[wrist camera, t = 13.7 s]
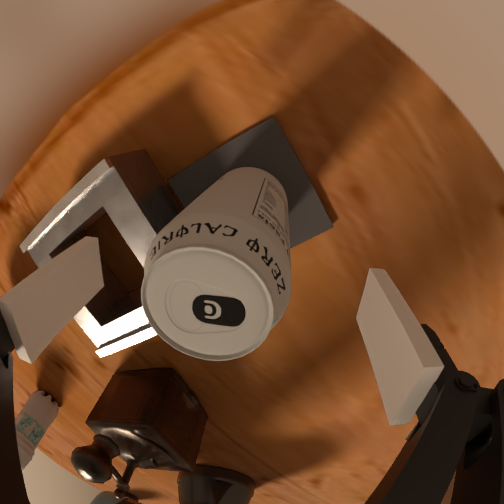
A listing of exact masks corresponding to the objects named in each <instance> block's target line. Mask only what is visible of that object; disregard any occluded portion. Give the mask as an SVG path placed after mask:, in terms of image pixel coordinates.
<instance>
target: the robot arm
mask: <svg viewBox="0 0 504 504" xmlns="http://www.w3.org/2000/svg"><path fill="white" fill-rule="evenodd" d="M103 287H104V282H103V275H102V268H101V260H100V252H99V243H98V238H97V237H88V236H86V237H84V238H83V239H81V240H80V241H78V242H77V243H75V244H74V245H72V246H71V247H69V248H68V249H66V250H65V251H63V252H62V253H60V254H59V255H57V256H56V257H54V258H53V259H51V260H50V261H48V262H47V263H46V264H44V265H43V266H41V267H40V268H39V269H37V270H36V271H34V272H33V273H32V274H30V275H29V276H28V277H26V278H25V279H24V280H22V281H21V282H20V283H18V284H17V285H16V286H14V287H13V288H12V289H10V290H9V291H8V292H6V293H5V294H4V295H3V296H1V297H0V504H30V502H29V500H28V497H27V492H26V488H25V484H24V479H23V474H22V469H21V464H20V458H19V452H18V445H17V437H16V428H15V417H14V402H13V357H12V354H11V352H10V351H11V350H12V349H13V348H14V347H15V349H16V351H17V354H18V356H19V358H20V359H22V360H24V361H26V362H28V363H31V364H32V363H33V362H34V361H35V360H36V358H37V357H38V356H39V355H40V354H41V353H42V352H43V350H44V349H45V348H46V347H47V346H48V345H49V344H50V343H51V341H52V340H53V339H54V338H55V337H56V336H57V335H58V334H59V333H60V331H61V330H62V329H63V328H64V327H65V326H66V325H67V324H68V323H69V322H70V321H71V320H72V319H73V318H74V316H75V315H76V314H77V313H78V312H79V311H80V310H81V309H82V308H83V307H84V306H85V305H86V304H87V303H88V302H89V301H90V300H91V299H92V298H93V297H94V296H95V295H96V294H97V293H98V292H99V291H100V290H101V289H102V288H103ZM356 320H357V323H358V326H359V329H360V331H361V334H362V337H363V340H364V343H365V346H366V349H367V352H368V355H369V359H370V362H371V365H372V368H373V371H374V374H375V378H376V381H377V384H378V387H379V391H380V394H381V398H382V401H383V405H384V408H385V412H386V415H387V419H388V423H389V425H400V424H408V423H409V422H410V421H411V419H412V418H413V416H414V415H415V413H416V414H417V417H418V420H419V422H418V423H417V425H416V426H415V427H414V429H413V430H412V431H411V433H410V434H409V435H408V437H407V438H406V440H407V442H406V443H405V445H404V447H403V448H402V450H401V452H400V453H399V455H398V456H397V458H396V460H395V461H394V463H393V464H392V466H391V467H390V469H389V470H388V472H387V473H386V475H385V476H384V478H383V479H382V481H381V482H380V483H379V485H378V486H377V488H376V489H375V490H374V492H373V493H372V494H371V496H370V497H369V498H368V500H367V501H366V502H365V504H441V502H442V499H443V497H444V495H445V493H446V491H447V489H448V487H449V484H450V482H451V480H452V478H453V475H454V473H455V470H456V476H455V482H454V488H453V494H452V498H451V503H450V504H504V379H502V380H500V381H499V383H498V384H497V385H496V387H495V388H494V389H489V388H483V387H480V385H479V383H478V381H477V380H476V379H475V377H474V376H472V375H471V374H469V373H467V372H464V371H458V370H457V368H456V366H455V364H454V363H453V361H452V359H451V357H450V356H449V354H448V352H447V351H446V349H444V346H443V344H442V343H441V342H440V339H439V338H438V336H437V335H436V333H435V332H434V331H433V330H432V329H431V328H430V327H429V326H427V325H426V324H420V323H419V322H418V320H417V318H416V317H415V315H414V314H413V312H412V310H411V309H410V307H409V306H408V304H407V303H406V301H405V299H404V298H403V296H402V295H401V293H400V292H399V290H398V289H397V287H396V286H395V284H394V283H393V281H392V280H391V278H390V277H389V275H388V274H387V272H386V271H385V269H377V268H369V272H368V276H367V280H366V284H365V288H364V291H363V295H362V298H361V302H360V305H359V309H358V312H357V316H356ZM456 468H457V469H456ZM177 484H178V492H179V502H180V504H249V502H250V500H251V498H252V497H253V494H254V488H255V484H254V482H253V481H252V480H251V479H250V478H248V477H247V476H245V475H242V474H240V473H237V472H234V471H231V470H227V469H222V468H217V467H210V466H195V468H194V470H193V472H181V471H179V475H178V478H177ZM91 504H142V503H140V502H137V501H134V500H132V499H130V498H129V497H124V498H123V499H118V498H116V497H115V496H114V492H111V491H104V492H101V493H100V494H99V495H97V496H96V497H95V498H94V500H93V501H92V502H91Z"/></svg>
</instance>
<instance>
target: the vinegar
mask: <svg viewBox="0 0 504 504" xmlns="http://www.w3.org/2000/svg"><path fill="white" fill-rule="evenodd" d="M125 494H126V495H125V497H129V498H130V499H132V500H134V501H137V502H138V498H137V497H135V496H133V495H131V494H129V493H127V492H125Z"/></svg>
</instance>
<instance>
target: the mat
mask: <svg viewBox="0 0 504 504" xmlns="http://www.w3.org/2000/svg"><path fill="white" fill-rule="evenodd" d="M241 167H254V168H259V169H262V170H264V171H266V172H268V173H270V174H271V175H273V176H274V177H275V178H276V179H277V180H278V181H279V182H280V184H281V185H282V187H283V189H284V191H285V193H286V197H287V201H288V217H289V235H290V248H292V247H294V246H296V245H298V244H300V243H302V242H304V241H306V240H308V239H310V238H312V237H314V236H316V235H318V234H320V233H322V232H325V231H327V230H329V229H331V228H333V225H332V223H331V221H330V219H329V217H328V215H327V213H326V211H325V209H324V207H323V205H322V203H321V201H320V199H319V197H318V195H317V193H316V191H315V189H314V187H313V185H312V184H311V182H310V180H309V178H308V176H307V174H306V172H305V170H304V169H303V167H302V165H301V163H300V161H299V160H298V158H297V156H296V154H295V152H294V151H293V149H292V147H291V145H290V144H289V142H288V140H287V138H286V137H285V135H284V133H283V131H282V130H281V128H280V126H279V125H278V123H277V121H276V120H275V118H274V117H272V118H270V119H268V120H266V121H265V122H263V123H261V124H259V125H257V126H256V127H254V128H252V129H250V130H248V131H247V132H245V133H243V134H241V135H240V136H238V137H236V138H235V139H233V140H231V141H229V142H228V143H226V144H224V145H223V146H221V147H219V148H218V149H216V150H214V151H213V152H211V153H210V154H208V155H206V156H205V157H203V158H202V159H200V160H198V161H197V162H195V163H194V164H192V165H191V166H189V167H187V168H186V169H184V170H183V171H181V172H180V173H178V174H177V175H175V176H174V177H172V178H171V179H169V180H168V183H169V184H170V186H171V188H172V189H173V191H174V192H175V194H176V196H177V197H178V199H179V200H180V202H181V203H182V205H183V207H184V208H186V207H187V206H188V205H189V204H191V203H192V202H193V201H194V200H195V199H196V198H197V197H199V196H200V195H201V194H202V193H203V192H204V191H205V190H207V189H208V188H209V187H210V186H211V185H213V184H214V183H215V182H216V181H217V180H218V179H220V178H221V177H222V176H223V175H225V174H226V173H228V172H229V171H232V170H234V169H237V168H241Z"/></svg>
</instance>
